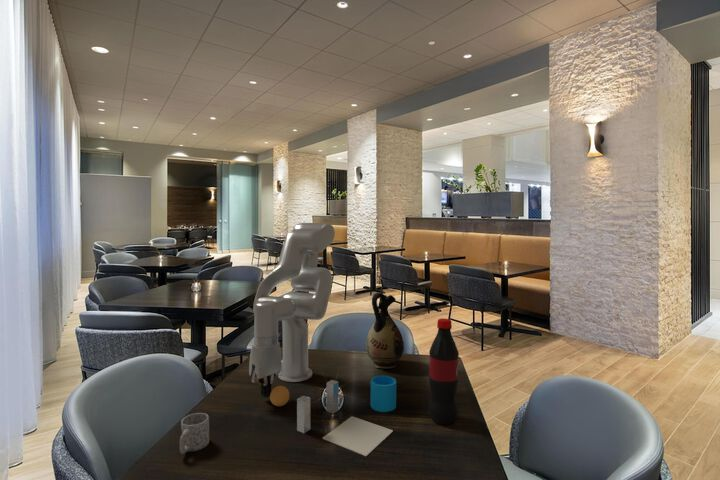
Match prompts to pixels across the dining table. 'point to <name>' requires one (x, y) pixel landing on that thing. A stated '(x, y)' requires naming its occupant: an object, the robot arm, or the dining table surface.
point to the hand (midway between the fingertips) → (266, 395)
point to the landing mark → (358, 435)
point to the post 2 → (332, 396)
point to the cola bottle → (443, 375)
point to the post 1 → (303, 414)
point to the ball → (279, 396)
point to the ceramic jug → (384, 335)
